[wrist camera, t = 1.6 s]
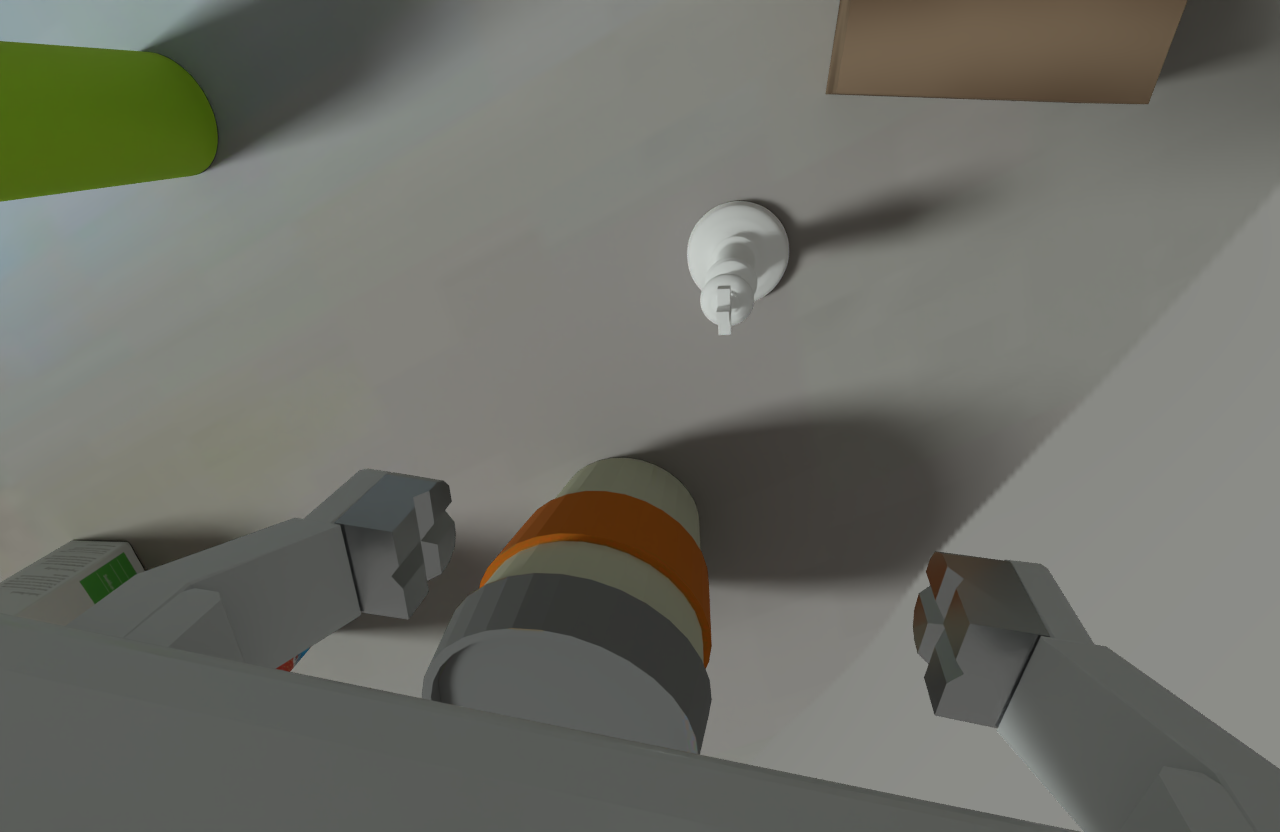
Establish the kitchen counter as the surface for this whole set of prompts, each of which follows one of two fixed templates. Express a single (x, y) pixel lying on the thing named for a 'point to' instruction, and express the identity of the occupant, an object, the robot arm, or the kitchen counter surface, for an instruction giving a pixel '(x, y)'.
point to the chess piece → (736, 260)
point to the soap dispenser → (97, 120)
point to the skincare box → (68, 581)
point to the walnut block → (1003, 49)
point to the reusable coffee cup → (592, 615)
